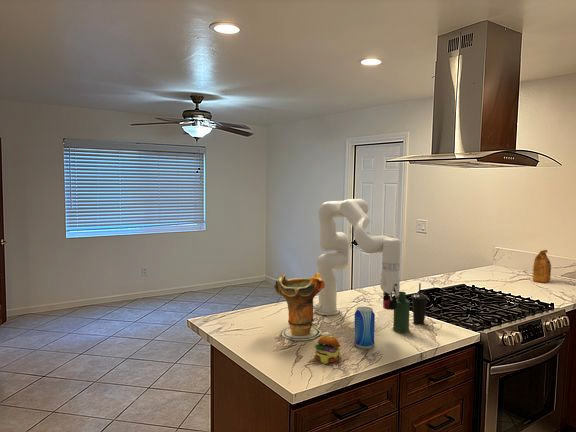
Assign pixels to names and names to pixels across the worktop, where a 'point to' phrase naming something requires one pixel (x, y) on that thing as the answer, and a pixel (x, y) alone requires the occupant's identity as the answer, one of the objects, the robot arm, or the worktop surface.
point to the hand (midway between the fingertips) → (389, 306)
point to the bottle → (401, 314)
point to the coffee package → (542, 267)
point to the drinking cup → (419, 307)
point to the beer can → (364, 327)
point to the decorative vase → (300, 305)
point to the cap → (386, 305)
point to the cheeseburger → (327, 349)
